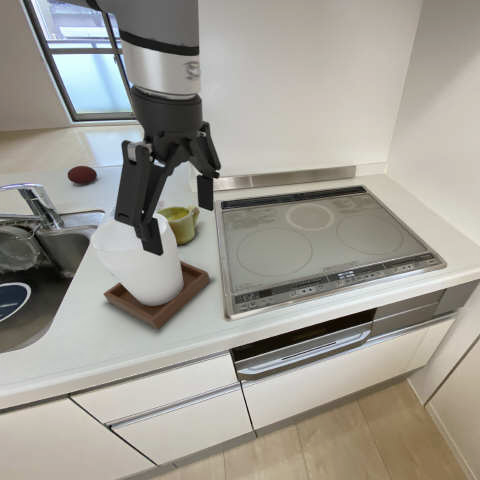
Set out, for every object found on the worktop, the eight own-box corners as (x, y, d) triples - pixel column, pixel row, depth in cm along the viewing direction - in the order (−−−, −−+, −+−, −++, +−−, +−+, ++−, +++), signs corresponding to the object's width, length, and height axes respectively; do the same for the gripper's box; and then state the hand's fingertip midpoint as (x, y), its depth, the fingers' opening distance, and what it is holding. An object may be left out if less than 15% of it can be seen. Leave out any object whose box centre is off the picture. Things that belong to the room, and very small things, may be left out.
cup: (132, 324, 52) (89, 263, 41) (125, 283, 60) (87, 223, 49) (198, 296, 58) (176, 237, 47) (184, 262, 66) (161, 205, 55)
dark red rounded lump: (69, 182, 95) (60, 167, 92) (95, 175, 100) (87, 160, 97) (76, 189, 92) (66, 173, 88) (102, 181, 97) (94, 166, 93)
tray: (109, 302, 56) (102, 293, 54) (166, 261, 67) (162, 252, 65) (158, 329, 52) (152, 320, 50) (210, 281, 63) (207, 272, 61)
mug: (168, 251, 67) (158, 213, 64) (155, 244, 74) (145, 209, 70) (213, 238, 75) (206, 204, 72) (197, 233, 82) (191, 202, 79)
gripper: (103, 122, 21) (148, 287, 34) (244, 87, 40) (238, 200, 54) (19, 93, 21) (96, 268, 34) (200, 72, 41) (205, 189, 54)
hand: (183, 227), depth 44 cm, fingers open, 13 cm apart
